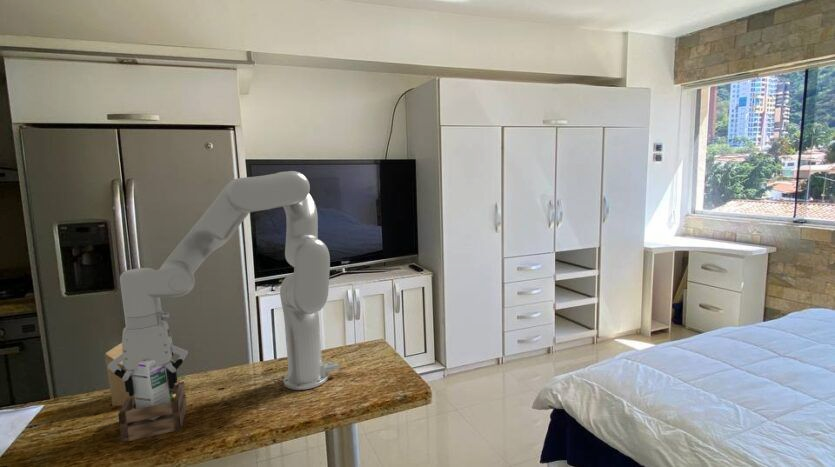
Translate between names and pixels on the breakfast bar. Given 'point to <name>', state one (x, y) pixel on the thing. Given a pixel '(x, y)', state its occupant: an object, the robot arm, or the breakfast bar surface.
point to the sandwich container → (117, 378)
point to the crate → (140, 426)
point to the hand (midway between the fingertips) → (152, 389)
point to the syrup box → (151, 385)
